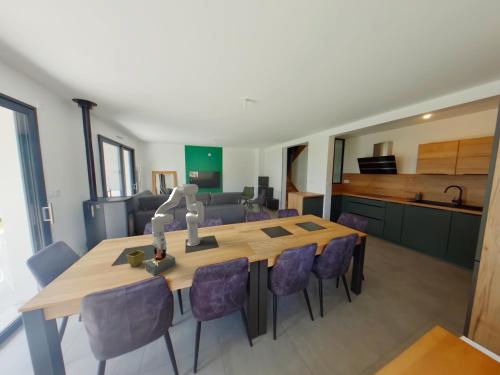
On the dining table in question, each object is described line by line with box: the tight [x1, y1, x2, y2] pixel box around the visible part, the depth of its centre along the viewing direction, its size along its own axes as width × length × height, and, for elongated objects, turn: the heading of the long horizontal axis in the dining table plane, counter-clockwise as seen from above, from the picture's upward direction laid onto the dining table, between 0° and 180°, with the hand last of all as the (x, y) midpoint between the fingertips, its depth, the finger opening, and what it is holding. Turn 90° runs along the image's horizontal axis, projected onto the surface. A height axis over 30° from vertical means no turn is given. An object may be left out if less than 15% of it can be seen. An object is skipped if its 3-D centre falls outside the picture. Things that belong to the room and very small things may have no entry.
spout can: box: [156, 249, 165, 261], centre depth 125 cm, size 5×5×15 cm
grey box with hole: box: [144, 252, 176, 276], centre depth 125 cm, size 16×12×8 cm
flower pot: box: [125, 250, 145, 267], centre depth 130 cm, size 9×9×9 cm
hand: (160, 255), depth 125 cm, fingers open, 9 cm apart
